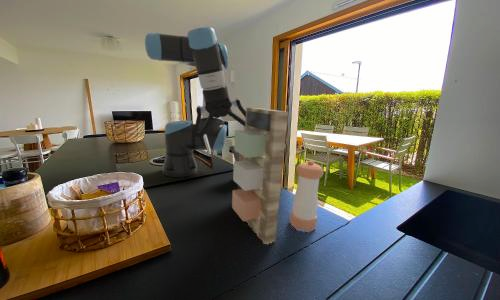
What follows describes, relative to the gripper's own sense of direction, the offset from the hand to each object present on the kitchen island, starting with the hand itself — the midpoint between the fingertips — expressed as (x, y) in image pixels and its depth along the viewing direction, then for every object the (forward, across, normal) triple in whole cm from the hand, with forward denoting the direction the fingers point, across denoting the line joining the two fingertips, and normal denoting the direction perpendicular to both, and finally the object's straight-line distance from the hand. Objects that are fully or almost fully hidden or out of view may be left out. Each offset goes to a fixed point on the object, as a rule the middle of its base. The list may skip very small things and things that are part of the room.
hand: (228, 148), depth 71 cm
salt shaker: (+17, +17, -24) cm, 34 cm away
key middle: (0, +4, -22) cm, 23 cm away
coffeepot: (+21, +3, +8) cm, 23 cm away
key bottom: (+7, +2, -24) cm, 25 cm away
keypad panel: (+14, +4, -24) cm, 28 cm away
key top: (-8, +6, -21) cm, 23 cm away
